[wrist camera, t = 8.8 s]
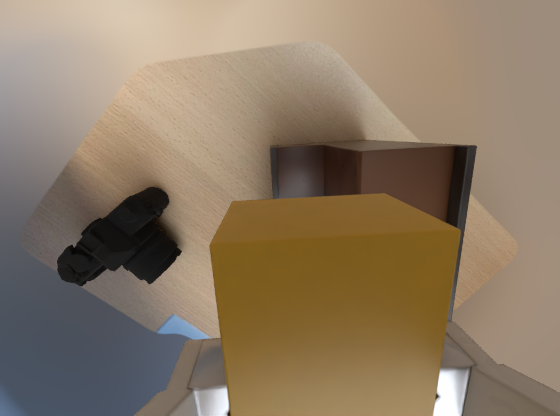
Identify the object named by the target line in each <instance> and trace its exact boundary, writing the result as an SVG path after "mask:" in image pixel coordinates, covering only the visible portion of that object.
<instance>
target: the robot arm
mask: <svg viewBox="0 0 560 416" xmlns="http://www.w3.org/2000/svg"><path fill="white" fill-rule="evenodd" d="M134 416H230V408H229V400H228V392H227V384H226V376H225V368H224V360H223V352H222V344H221V338H213V339H200V340H187V341H186V342H185V344H184V345H183V348H182V350H181V353H180V355H179V358H178V360H177V363H176V365H175V368H174V370H173V373H172V375H171V378H170V380H169V383H168V385H167V388H166V390H165V391H161V392H158V393H157V394H156V395H155V396H154V397H153V398H152V399H151V400H150V401H149V402H148V403H147V404H146V405H144V406H143V407H142V408H141V409H140V410H139V411H138V412H137V413H136V414H135V415H134ZM433 416H560V393H559V392H557V391H555V390H553V389H551V388H550V387H548V386H546V385H544V384H542V383H540V382H538V381H536V380H534V379H532V378H530V377H528V376H526V375H524V374H522V373H520V372H518V371H516V370H514V369H512V368H510V367H508V366H506V365H504V364H497V363H495V361H493V359H492V358H490V357H489V356H488V355H487V354H486V353H485V352H484V351H483V350H482V349H481V348H480V347H479V346H478V345H477V344H476V343H475V342H474V341H473V340H472V339H471V338H470V337H469V336H468V335H467V334H466V333H465V332H464V331H463V330H462V329H461V328H460V327H459V326H458V325H457V324H456V323H455V322H452V321H447V327H446V333H445V340H444V347H443V353H442V360H441V366H440V373H439V379H438V386H437V393H436V399H435V406H434V412H433Z"/></svg>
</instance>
